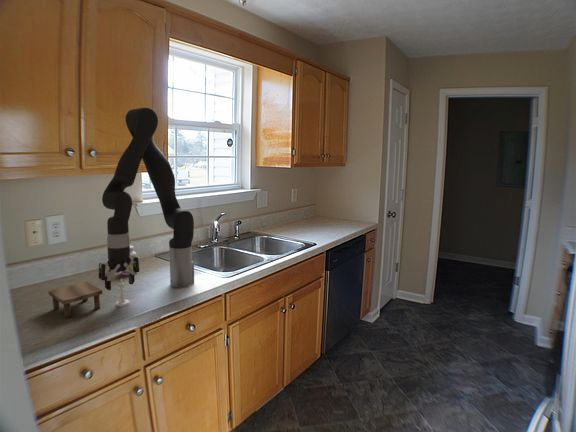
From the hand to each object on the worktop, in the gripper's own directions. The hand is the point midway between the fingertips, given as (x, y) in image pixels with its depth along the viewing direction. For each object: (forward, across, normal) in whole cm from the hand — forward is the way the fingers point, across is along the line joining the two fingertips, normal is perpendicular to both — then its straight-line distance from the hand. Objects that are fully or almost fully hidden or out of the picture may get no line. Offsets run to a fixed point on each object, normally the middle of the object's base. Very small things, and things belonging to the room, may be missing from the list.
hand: (120, 286), depth 140 cm
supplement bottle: (+7, -19, -30) cm, 36 cm away
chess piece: (+7, -1, 0) cm, 7 cm away
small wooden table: (+7, +12, -8) cm, 16 cm away
